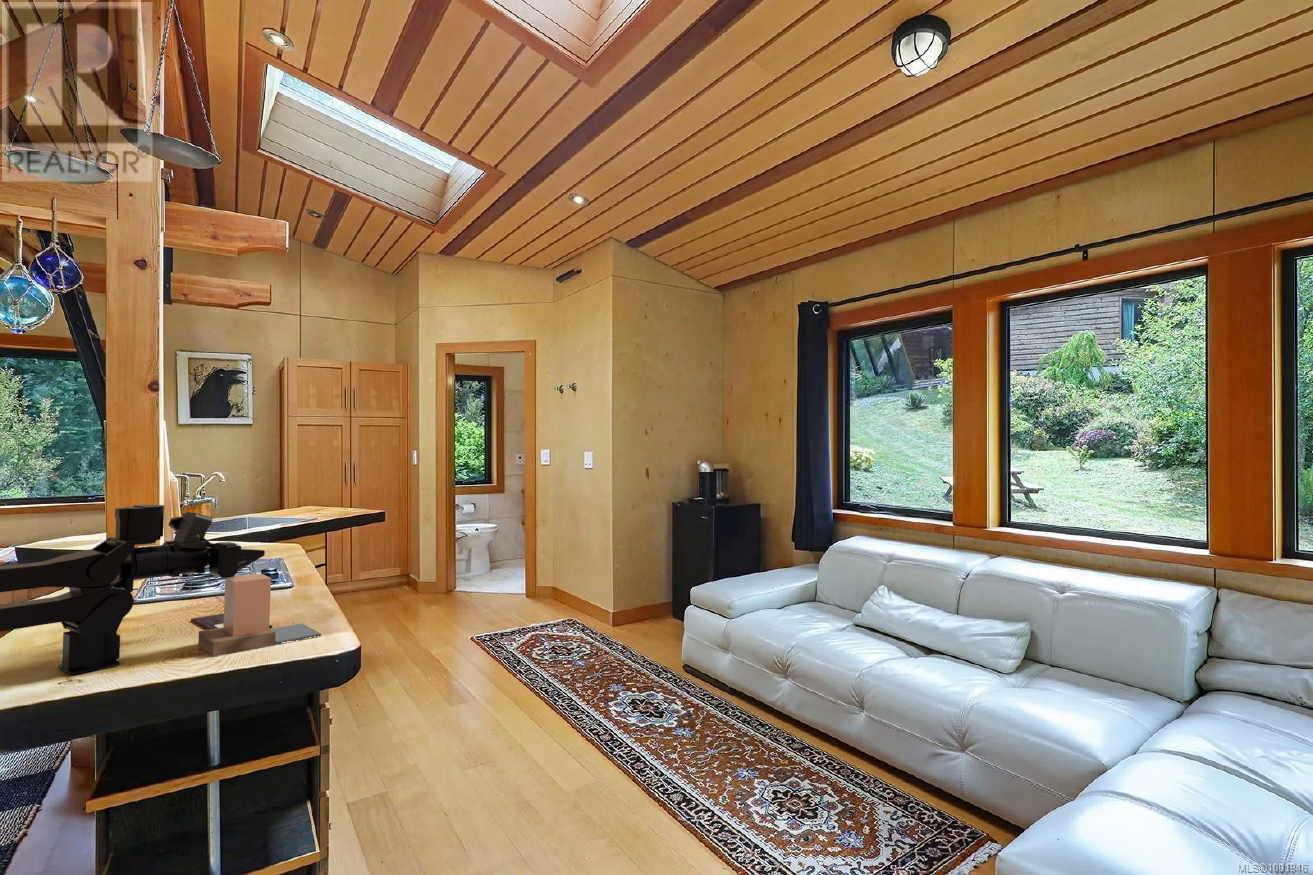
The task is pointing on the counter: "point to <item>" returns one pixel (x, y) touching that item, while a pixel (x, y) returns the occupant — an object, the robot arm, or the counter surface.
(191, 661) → the counter surface
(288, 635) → the mat
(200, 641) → the board
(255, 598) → the block
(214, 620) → the chocolate bar
